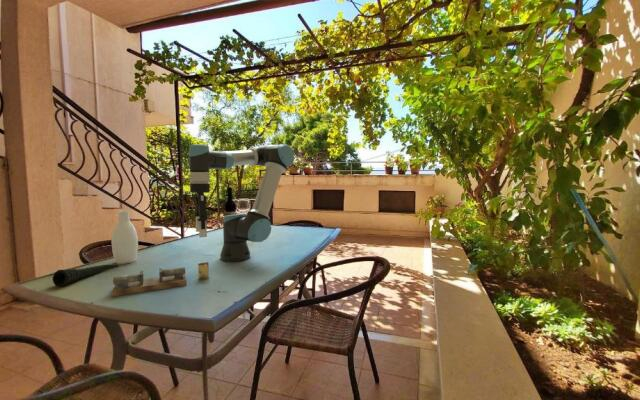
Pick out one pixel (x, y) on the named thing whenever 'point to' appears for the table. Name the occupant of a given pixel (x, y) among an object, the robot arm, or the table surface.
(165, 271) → the double roll holder
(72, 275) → the tool
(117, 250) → the bottle
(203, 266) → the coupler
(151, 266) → the table surface
